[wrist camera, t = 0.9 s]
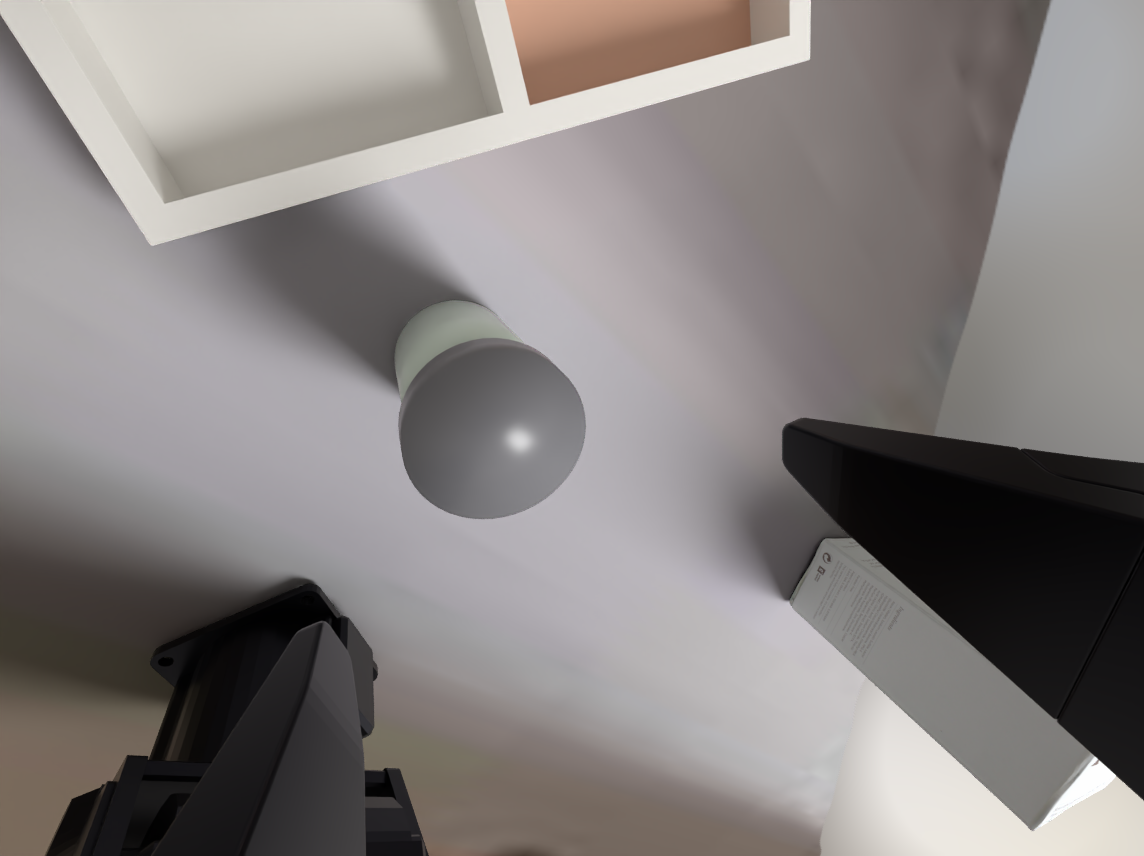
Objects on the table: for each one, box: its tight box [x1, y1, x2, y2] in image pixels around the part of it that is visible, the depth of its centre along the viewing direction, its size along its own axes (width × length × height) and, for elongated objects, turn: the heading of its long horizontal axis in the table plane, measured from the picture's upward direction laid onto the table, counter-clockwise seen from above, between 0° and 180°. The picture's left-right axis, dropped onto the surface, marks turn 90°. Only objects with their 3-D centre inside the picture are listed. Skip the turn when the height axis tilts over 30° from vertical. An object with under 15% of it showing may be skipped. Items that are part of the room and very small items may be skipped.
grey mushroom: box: [394, 300, 586, 519], centre depth 16 cm, size 5×5×7 cm
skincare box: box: [789, 538, 1116, 831], centre depth 29 cm, size 8×6×15 cm
